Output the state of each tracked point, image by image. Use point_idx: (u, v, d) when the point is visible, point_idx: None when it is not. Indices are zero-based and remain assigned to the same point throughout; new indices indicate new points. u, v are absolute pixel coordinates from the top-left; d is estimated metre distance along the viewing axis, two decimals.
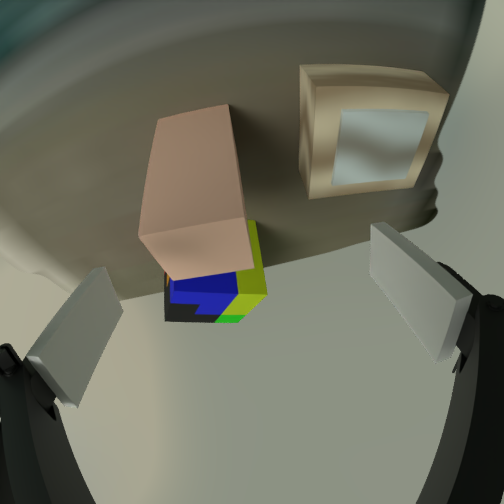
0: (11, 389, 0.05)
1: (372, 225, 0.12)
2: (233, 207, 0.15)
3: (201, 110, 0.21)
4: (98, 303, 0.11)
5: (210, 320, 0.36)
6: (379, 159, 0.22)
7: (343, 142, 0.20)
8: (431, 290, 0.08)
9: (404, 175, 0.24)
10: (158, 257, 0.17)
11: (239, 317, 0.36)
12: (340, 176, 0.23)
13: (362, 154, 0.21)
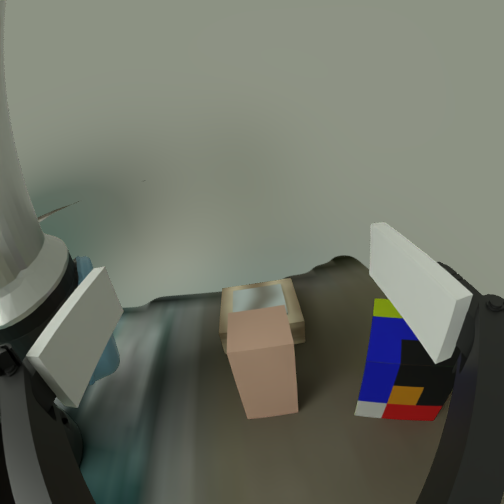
0: (11, 389, 0.05)
1: (372, 225, 0.12)
2: None
3: None
4: (98, 303, 0.11)
5: None
6: (265, 299, 0.43)
7: None
8: (431, 290, 0.08)
9: (277, 285, 0.47)
10: (254, 347, 0.24)
11: None
12: None
13: (261, 307, 0.42)
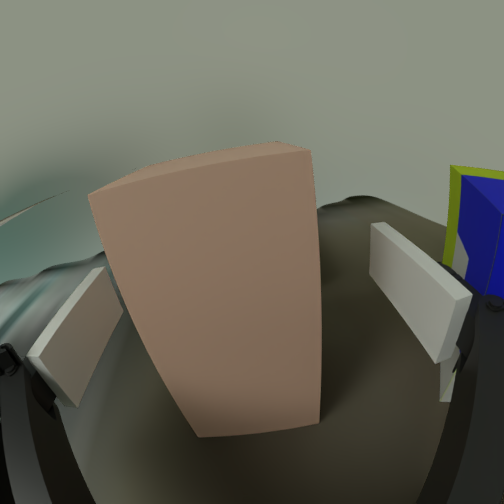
0: (11, 389, 0.05)
1: (372, 225, 0.12)
2: None
3: None
4: (98, 303, 0.11)
5: None
6: None
7: None
8: (431, 290, 0.08)
9: None
10: (172, 171, 0.07)
11: None
12: None
13: None
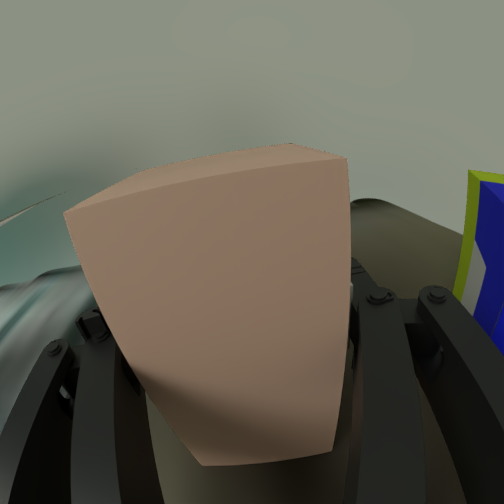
0: (96, 358, 0.07)
1: None
2: None
3: None
4: None
5: None
6: None
7: None
8: None
9: None
10: (167, 183, 0.05)
11: None
12: None
13: None
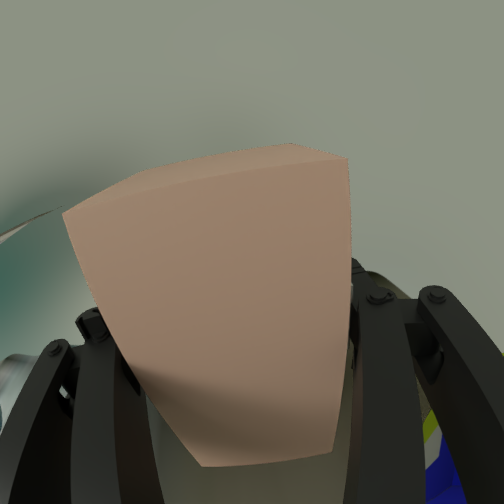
0: (96, 358, 0.07)
1: None
2: None
3: None
4: None
5: None
6: None
7: None
8: None
9: None
10: (166, 183, 0.05)
11: None
12: None
13: None
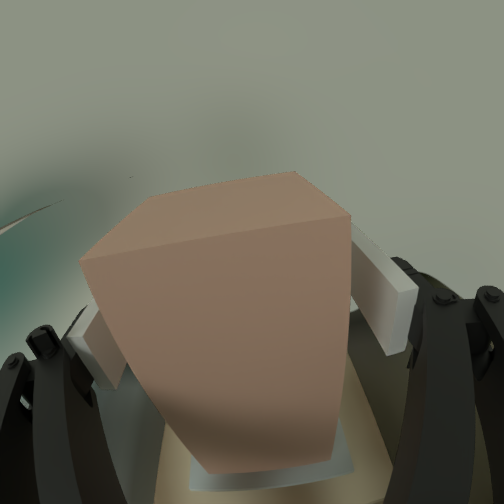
0: (47, 373, 0.06)
1: None
2: None
3: None
4: None
5: None
6: None
7: (247, 482, 0.10)
8: (379, 283, 0.09)
9: None
10: (179, 236, 0.06)
11: None
12: (329, 465, 0.10)
13: None
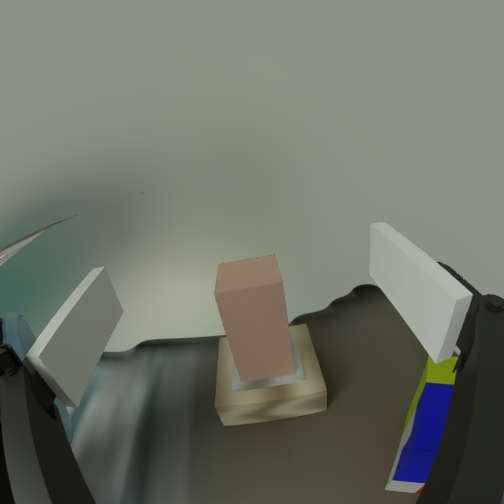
0: (11, 389, 0.05)
1: (372, 225, 0.12)
2: None
3: None
4: (98, 303, 0.11)
5: None
6: None
7: (258, 383, 0.28)
8: (431, 290, 0.08)
9: (290, 335, 0.35)
10: (242, 287, 0.25)
11: None
12: (293, 375, 0.29)
13: None
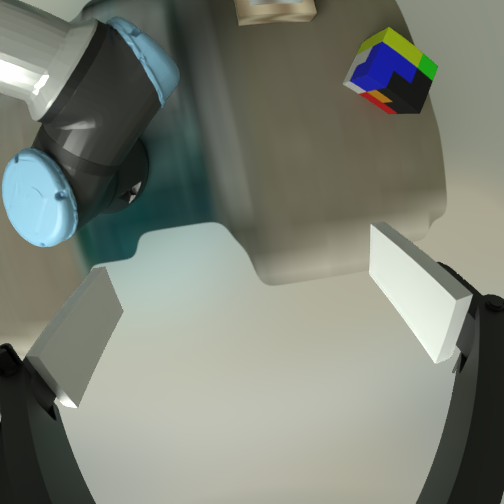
0: (11, 389, 0.05)
1: (372, 225, 0.12)
2: None
3: None
4: (98, 303, 0.11)
5: (427, 80, 0.30)
6: None
7: (269, 1, 0.29)
8: (431, 290, 0.08)
9: None
10: None
11: (427, 59, 0.28)
12: None
13: None
